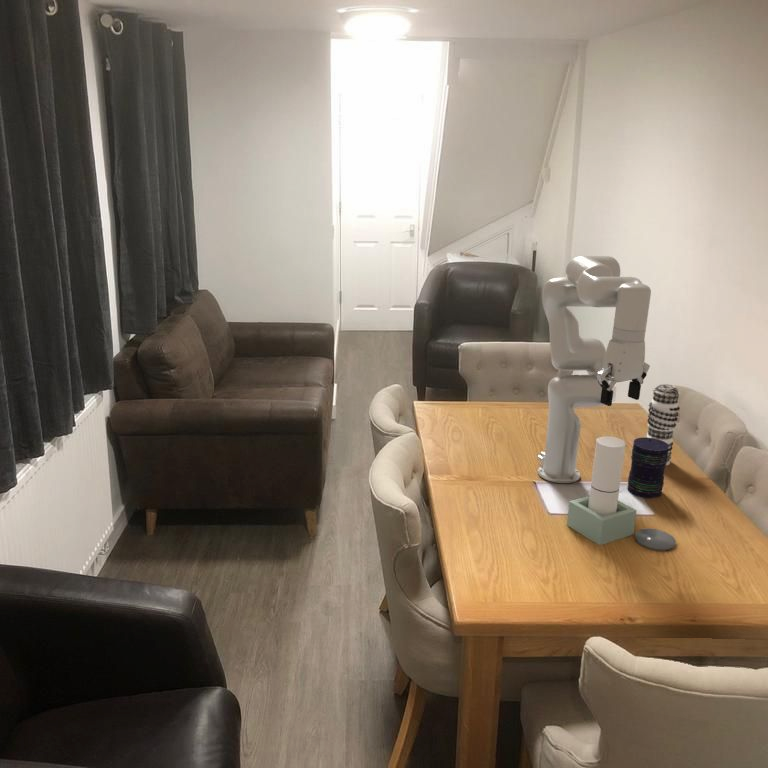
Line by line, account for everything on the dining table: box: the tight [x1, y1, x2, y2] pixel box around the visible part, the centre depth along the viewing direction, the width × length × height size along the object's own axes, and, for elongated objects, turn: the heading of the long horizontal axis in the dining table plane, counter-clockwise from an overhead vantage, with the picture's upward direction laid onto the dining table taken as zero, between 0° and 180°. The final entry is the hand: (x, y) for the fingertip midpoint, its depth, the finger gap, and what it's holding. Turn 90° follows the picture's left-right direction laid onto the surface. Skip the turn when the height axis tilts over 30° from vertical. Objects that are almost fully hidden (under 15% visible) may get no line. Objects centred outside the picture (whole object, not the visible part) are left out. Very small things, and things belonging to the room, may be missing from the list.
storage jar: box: [626, 437, 669, 500], centre depth 227 cm, size 10×10×15 cm
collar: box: [566, 495, 637, 546], centre depth 205 cm, size 12×12×7 cm
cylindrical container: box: [588, 435, 626, 517], centre depth 202 cm, size 7×7×25 cm
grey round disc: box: [634, 528, 677, 552], centre depth 201 cm, size 10×10×1 cm
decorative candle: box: [645, 383, 681, 467], centre depth 247 cm, size 9×9×25 cm
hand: (619, 401), depth 195 cm, fingers open, 9 cm apart
